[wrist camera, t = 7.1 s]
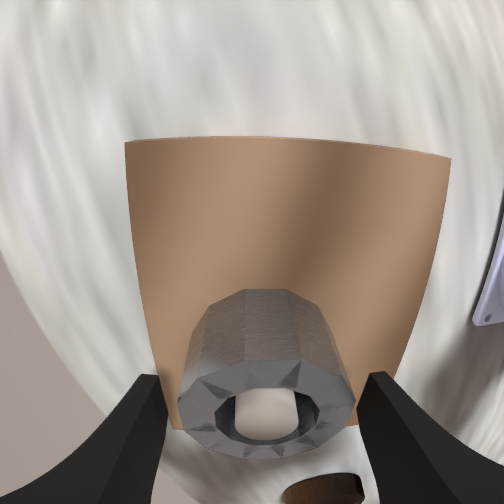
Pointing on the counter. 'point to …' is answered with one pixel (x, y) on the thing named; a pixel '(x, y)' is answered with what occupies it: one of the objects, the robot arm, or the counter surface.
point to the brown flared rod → (327, 490)
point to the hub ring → (263, 372)
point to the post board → (283, 247)
